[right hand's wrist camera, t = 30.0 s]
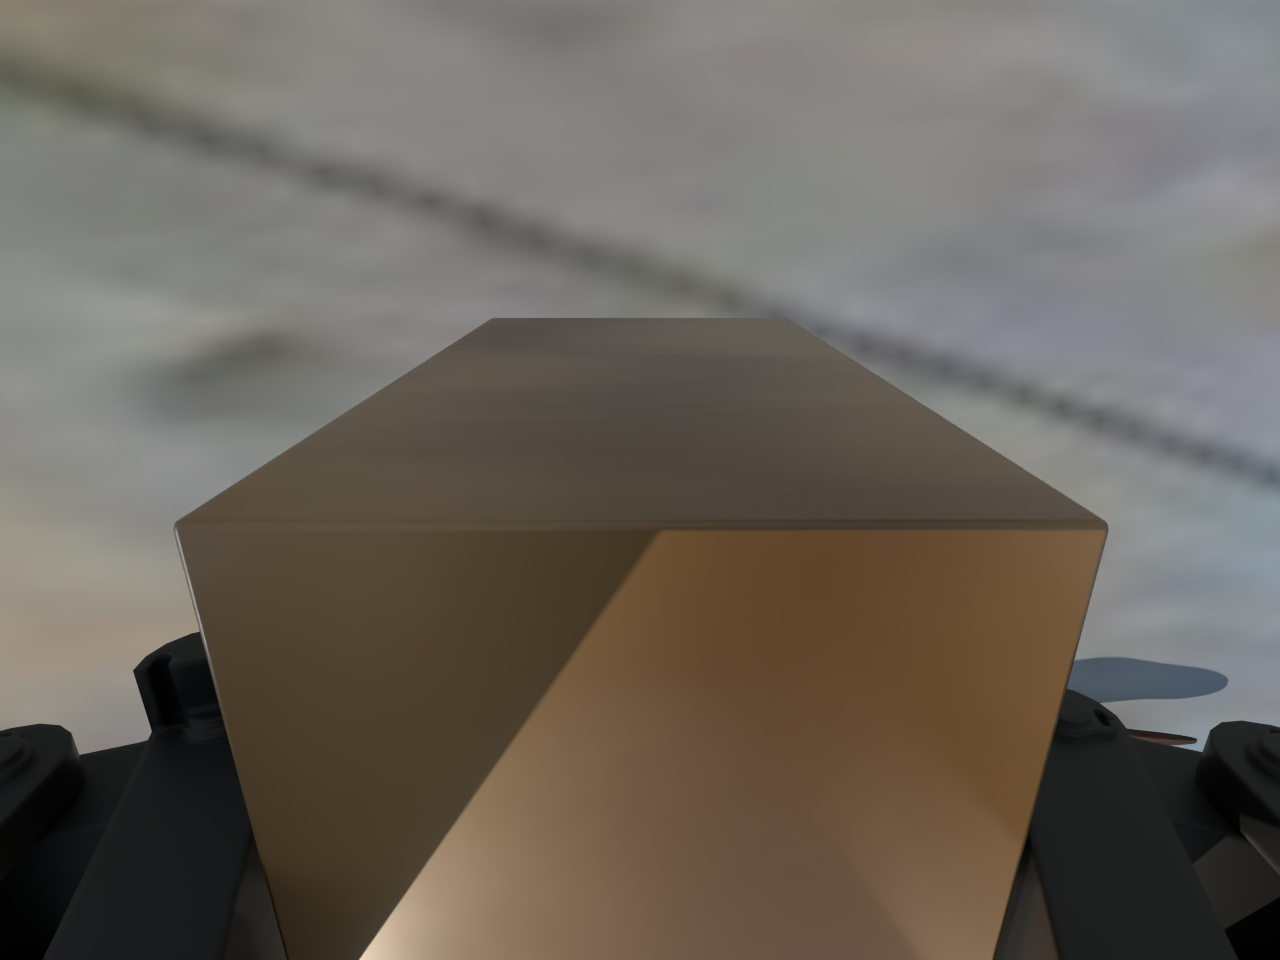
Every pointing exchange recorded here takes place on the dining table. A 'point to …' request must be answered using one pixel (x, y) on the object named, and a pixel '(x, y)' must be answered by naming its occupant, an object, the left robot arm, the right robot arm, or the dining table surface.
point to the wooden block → (640, 655)
